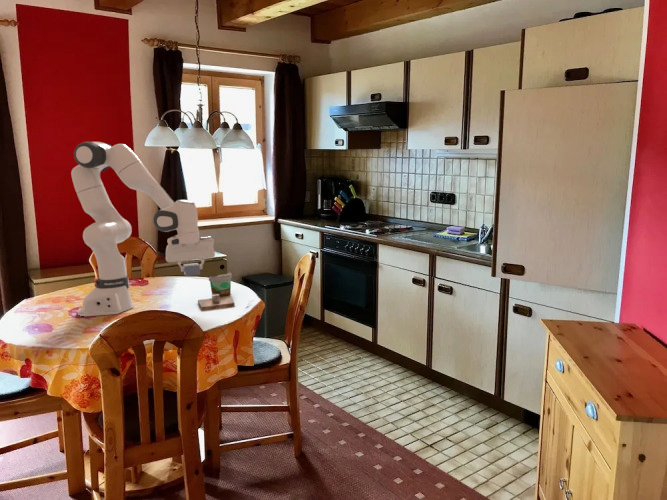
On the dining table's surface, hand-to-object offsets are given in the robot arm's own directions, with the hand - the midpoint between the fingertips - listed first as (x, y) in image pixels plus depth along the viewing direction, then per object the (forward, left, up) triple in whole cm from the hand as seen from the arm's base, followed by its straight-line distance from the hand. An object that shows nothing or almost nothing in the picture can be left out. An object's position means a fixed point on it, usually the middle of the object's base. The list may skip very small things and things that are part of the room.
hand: (191, 270), depth 229 cm
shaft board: (+9, 0, -17) cm, 19 cm away
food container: (+15, +15, -17) cm, 27 cm away
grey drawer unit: (0, 0, -2) cm, 2 cm away
